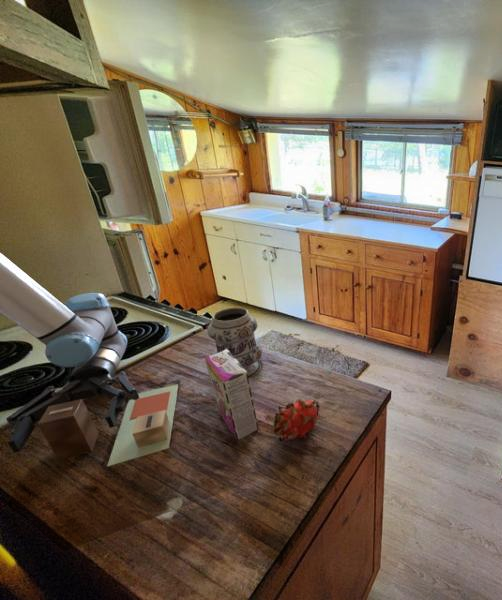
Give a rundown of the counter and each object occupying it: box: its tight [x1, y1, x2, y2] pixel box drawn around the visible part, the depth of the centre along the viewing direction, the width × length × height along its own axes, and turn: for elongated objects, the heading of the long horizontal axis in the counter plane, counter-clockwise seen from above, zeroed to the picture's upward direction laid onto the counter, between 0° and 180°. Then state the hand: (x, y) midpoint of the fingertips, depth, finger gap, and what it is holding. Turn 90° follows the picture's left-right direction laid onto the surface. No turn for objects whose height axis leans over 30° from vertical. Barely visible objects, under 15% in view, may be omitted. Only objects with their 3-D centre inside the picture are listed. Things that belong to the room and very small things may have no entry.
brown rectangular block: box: [37, 399, 99, 461], centre depth 64 cm, size 5×5×10 cm
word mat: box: [106, 383, 179, 468], centre depth 73 cm, size 10×22×1 cm, turn 27°
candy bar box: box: [204, 349, 259, 441], centre depth 70 cm, size 11×5×16 cm, turn 45°
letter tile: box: [132, 410, 170, 448], centre depth 68 cm, size 5×5×4 cm
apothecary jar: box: [207, 306, 263, 379], centre depth 87 cm, size 12×12×18 cm
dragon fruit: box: [272, 398, 320, 442], centre depth 71 cm, size 8×8×12 cm
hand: (64, 434), depth 61 cm, fingers open, 13 cm apart
